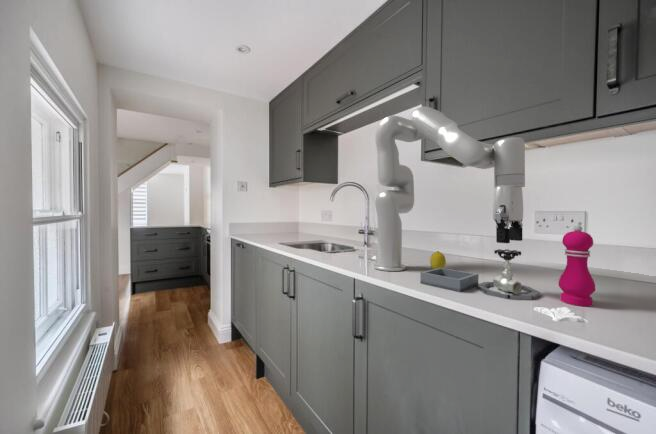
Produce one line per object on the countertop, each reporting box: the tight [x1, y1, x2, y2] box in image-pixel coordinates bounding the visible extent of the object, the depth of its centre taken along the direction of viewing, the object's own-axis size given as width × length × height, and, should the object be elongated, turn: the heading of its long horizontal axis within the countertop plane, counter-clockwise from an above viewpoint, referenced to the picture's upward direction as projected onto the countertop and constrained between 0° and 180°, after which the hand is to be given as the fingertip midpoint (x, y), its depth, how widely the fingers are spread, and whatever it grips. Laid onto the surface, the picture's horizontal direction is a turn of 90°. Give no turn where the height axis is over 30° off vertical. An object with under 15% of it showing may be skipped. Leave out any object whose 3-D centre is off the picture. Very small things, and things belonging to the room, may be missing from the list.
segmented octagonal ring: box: [476, 281, 541, 301], centre depth 85 cm, size 15×15×1 cm
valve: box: [492, 248, 523, 294], centre depth 84 cm, size 7×7×12 cm
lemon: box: [429, 250, 447, 270], centre depth 111 cm, size 6×6×8 cm
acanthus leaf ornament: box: [533, 306, 591, 324], centre depth 65 cm, size 8×7×2 cm
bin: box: [419, 267, 479, 293], centre depth 93 cm, size 13×12×4 cm
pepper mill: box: [558, 224, 596, 307], centre depth 75 cm, size 7×7×20 cm
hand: (509, 241), depth 84 cm, fingers open, 9 cm apart
